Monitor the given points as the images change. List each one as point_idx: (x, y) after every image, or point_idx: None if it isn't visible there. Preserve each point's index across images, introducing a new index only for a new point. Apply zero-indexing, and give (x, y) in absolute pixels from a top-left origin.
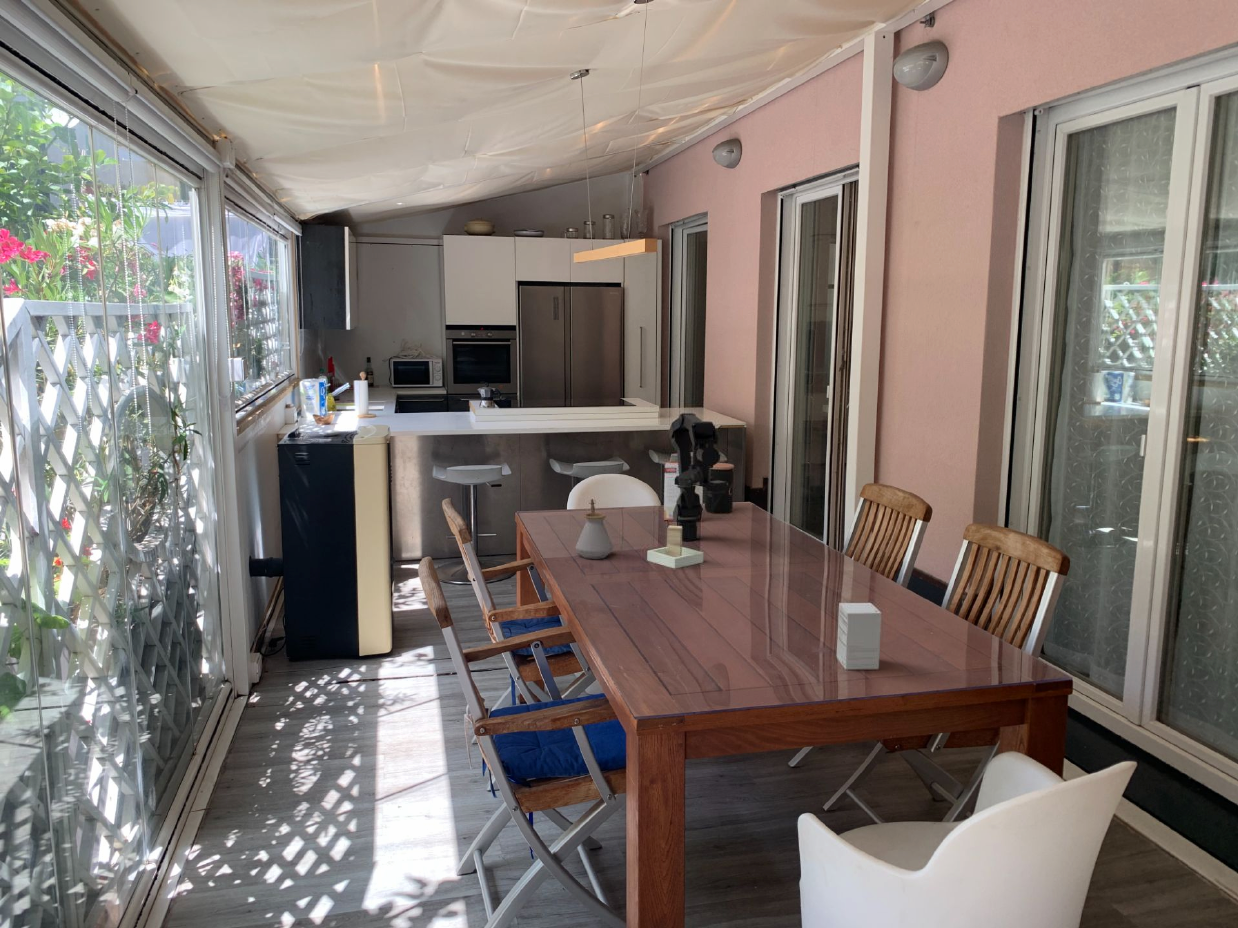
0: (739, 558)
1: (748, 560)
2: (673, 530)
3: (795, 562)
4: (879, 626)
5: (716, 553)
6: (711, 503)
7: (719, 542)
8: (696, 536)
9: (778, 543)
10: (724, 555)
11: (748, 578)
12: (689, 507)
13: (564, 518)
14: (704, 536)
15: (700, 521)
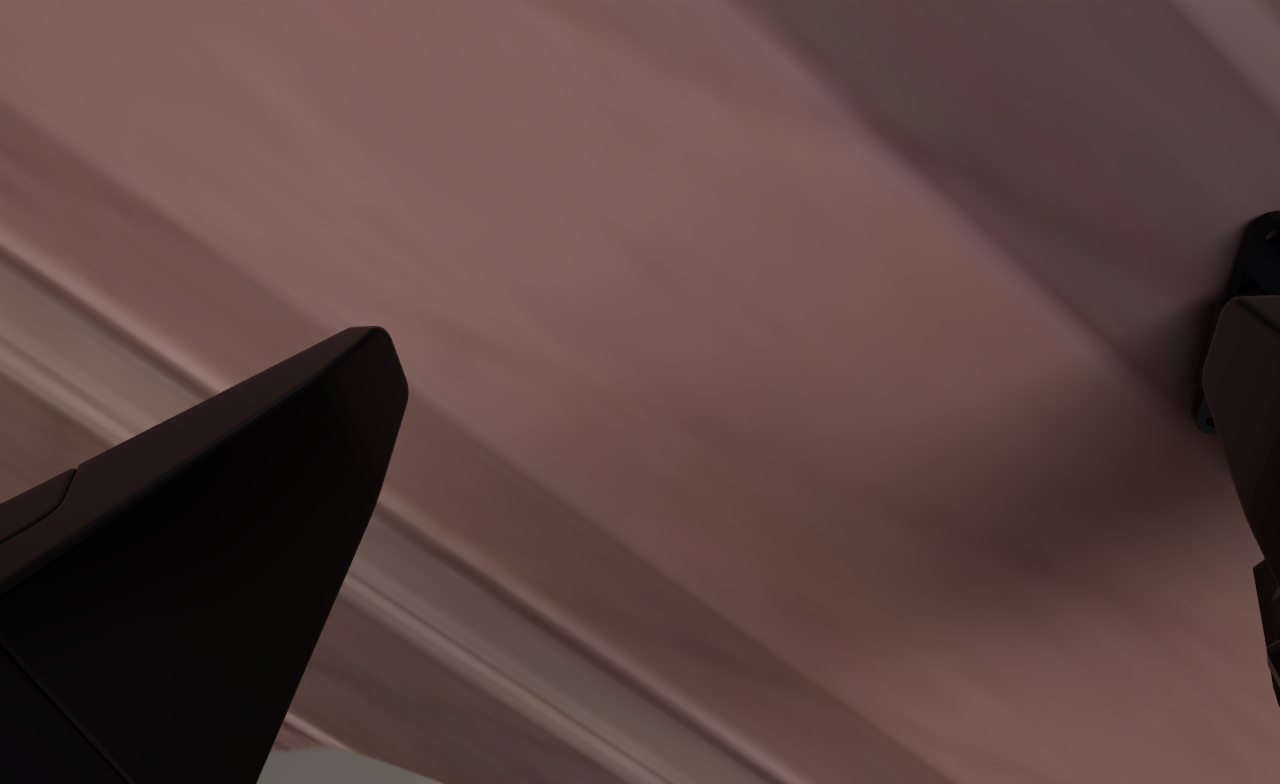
0: (289, 198)
1: (197, 217)
2: None
3: (81, 458)
4: None
5: (564, 136)
6: (92, 473)
7: (920, 468)
8: (1202, 385)
9: (605, 710)
10: (450, 151)
11: None
12: (1231, 314)
13: None
14: (1222, 524)
15: (1254, 566)
